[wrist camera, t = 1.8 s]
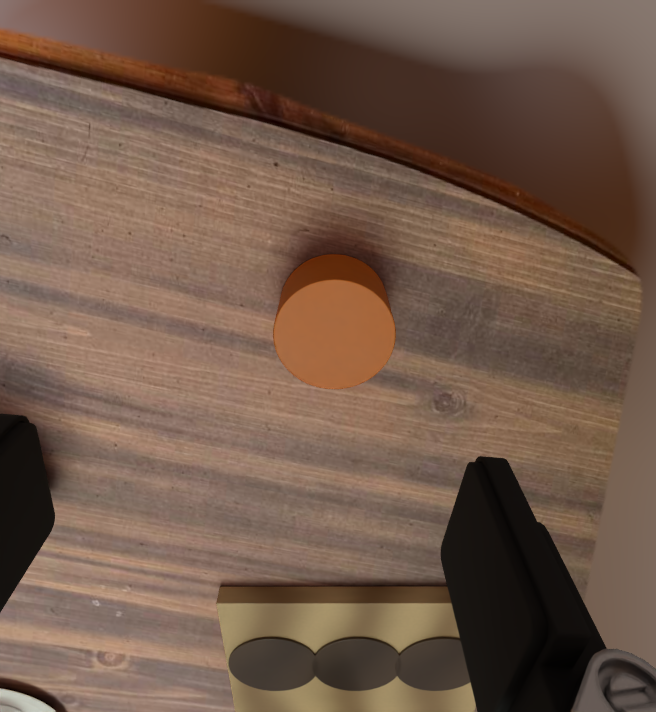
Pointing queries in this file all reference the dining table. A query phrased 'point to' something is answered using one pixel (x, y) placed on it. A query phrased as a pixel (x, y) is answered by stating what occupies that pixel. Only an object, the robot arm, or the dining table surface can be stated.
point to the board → (343, 649)
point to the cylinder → (334, 323)
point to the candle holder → (21, 702)
